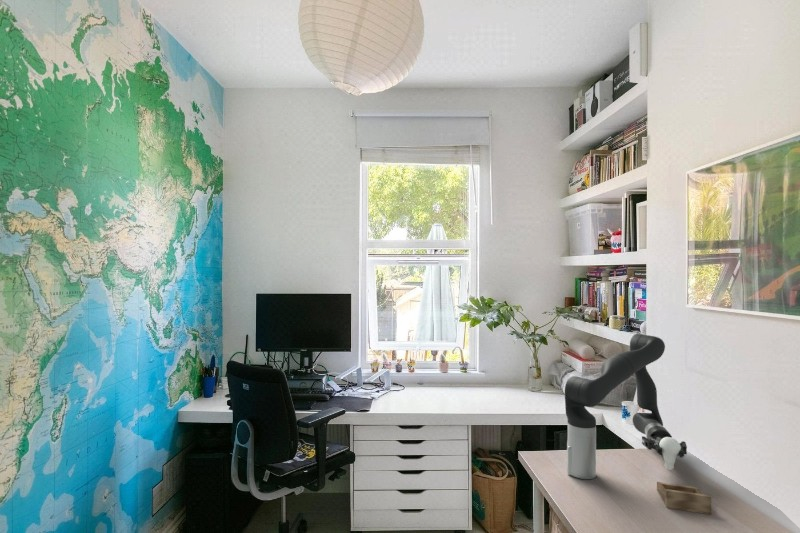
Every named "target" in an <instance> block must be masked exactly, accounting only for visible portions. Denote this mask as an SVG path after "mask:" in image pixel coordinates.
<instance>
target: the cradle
mask: <svg viewBox="0 0 800 533" xmlns="http://www.w3.org/2000/svg"><path fill="white" fill-rule="evenodd" d="M656 490H657V493H658V495H659V496H660V498H661V500H662V502H663V504H664V505H665V508H667V509H674V510H682V511H687V512H693V513H698V514H700V513H701V514H706V515H712V496H711V495H710V494H704V493H702V491H701V489H699V487H697V486H692V485H691V486H690V485H681V484H677V483H670V482H669V483H668V482H662V481H657V482H656Z"/></svg>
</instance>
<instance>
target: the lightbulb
mask: <svg viewBox="0 0 800 533" xmlns="http://www.w3.org/2000/svg"><path fill="white" fill-rule="evenodd" d="M679 443H680V442H679V441H678V440H677V439H675V438H674V437H673V436H672V437H664V438H662V439H661V441H660V443H659V446H660V447H661V448H662V455H663V461H664V468H665V469H666V470H667V471H672V470H674V466H675V463H676V459H677V457H678V454H679V452H680V450H681V447H680V444H679Z"/></svg>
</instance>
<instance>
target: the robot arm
mask: <svg viewBox="0 0 800 533" xmlns="http://www.w3.org/2000/svg"><path fill="white" fill-rule="evenodd" d="M629 341H630V342H629V351H627V350H626V351H622V352H617V353H615V354H613V355H612V356H610V357H609V358H607V359H606V360H604V362H603V363H602V365H601V368H600V370H601V375H600V376H599V377H597V378H595V379H588V378H584V377H581V376H580V377H579V376H575V375H574V376H569V378H568V379H567V380H566V382H565V386H564V404H565V405H564V407H565V415H566V419H567V440H566V470H567V475H568V476H572V477H574V478H577V479H582V480H593V479H595V478H596V477H597V420H596V417H595V416H594V415H593V414H592V413H590V412H589V411H588V409H587V408H593V407H596V406H597V405H599V404H600V403H601V402H602V401H603V400H604V399H605V398H606V397H607V396H608V395H609V394H610V393H611V392H612V391H613V390H614V389H615V388H617V387H618V386H619V385H621V384H622V383H623V382H625V381H626V380H628V379H630V378H631V377H632V376H633V375H634V376H635V377H634V378H635V383H636V401H637V407H639V408H640V409H643V410H647V411H650V412H636V413H634V414H633V417H632V424H633V426H634V428H635V429H636V430H637V431H638V432H640V433H641V434H643V435H645V436H641V444H642V446H644V447H645V448H646V449H647V450H648V451H649V450H653V451H655V452H656V453H657V454H658V455H660V456H662V455H663V453H662V448H661V447H660V446H659V443H660V441H661V439H662V438H664V437H672V438H673V436H672V435H671V433H670V432H669V431H668V430H667V428H666V427H664V422H663V419H662V417H661V414H660V412H659V411H660V410H659V407H658V391H657V386H656V383H655V382H654V380H653V378H652V376H651V375H650V373H649V371H648V369H647V368H646V366H648V365H651V363H654V362H656V361H657V360H659V359H661V357H662V356H663V355H664V352H665V350H666V346H665V345H666V344H665V342H664V341H663V339H662V338H660V337H658V336H654V335H648V334H642V333H636V334H635V333H634V335H632V337H631V339H630V340H629ZM586 407H587V408H586ZM679 444H680V447H681V450H680V452H679V454H678V455H677V457H679V458H683V457H685V455H687V454H688V452H687V449H688V445H687V443H686V441H681V442H679Z"/></svg>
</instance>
